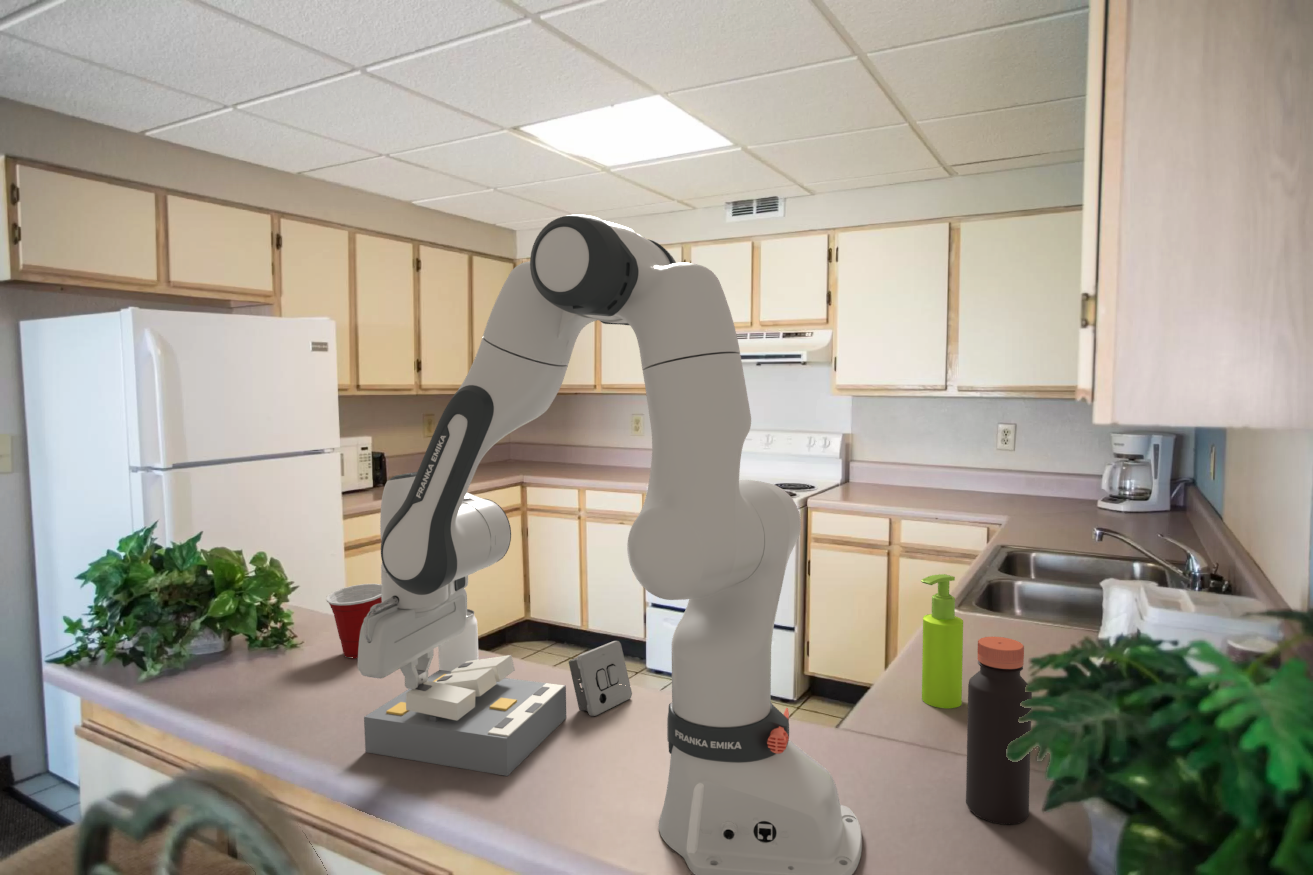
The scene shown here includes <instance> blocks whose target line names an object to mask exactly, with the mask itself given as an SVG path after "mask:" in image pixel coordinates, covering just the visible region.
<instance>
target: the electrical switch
mask: <svg viewBox="0 0 1313 875" xmlns="http://www.w3.org/2000/svg"><path fill="white" fill-rule="evenodd" d="M568 666H569V670H570V674H571V680H572V683H573V689H574V693H575V697H576V698H575V699H576V702H577V706H578V710H579V711H586V712H588V714H589V716H590V717H594V716H595V717H596V716H598V715H600V714H602V713H604V712H605V711H608V710H609V709H611V708H614V707H615V706H618V705H619V704H622V703H624V702H626V701H628V700H630V699H631V698H632V695H633V691H632V688H631V687H630V686H631V683H630V678H629V677H630V676H629V674H628V670H627V669H628V668H627V665H626V660H625V656H624V652H623V647H622V643H621V642H620V641H619V640H613V641H611V642H608V643H605V644H603V645H601V646H598V647H595V648H593V649H590V650H588V651H586V652H583V653H581V654H579V655H577V656H576V657H575V658H572V659H570V660H568ZM619 684H622V685H619ZM625 685H626V686H625Z"/></svg>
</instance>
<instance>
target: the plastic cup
mask: <svg viewBox="0 0 1313 875" xmlns="http://www.w3.org/2000/svg"><path fill="white" fill-rule="evenodd" d="M325 601H326V603H328V604H329V606H330V609H331V611H332V614H333V617H334V621H335V626H336V628H337V633H338V637H339V640H340V643H341V648H342V653H343V655H345V656H346V657H345V656H344V657H345V658H347V657H353V658H352V659H358V648H359V638H360V631H361V627H362V624H363V622H364V618H365V617H366V616H367V614H368V613H369V611H370V608H371V607H372V606H374V605H375V604H378V603H382V591H381V584H379V583H362V584H356V585H350V586H347V587H342V588H340V589H336V590H334V591H331V593H328V595H326V598H325Z"/></svg>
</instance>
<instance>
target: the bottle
mask: <svg viewBox="0 0 1313 875" xmlns="http://www.w3.org/2000/svg"><path fill="white" fill-rule="evenodd" d="M1024 658H1025V645H1024V644H1023V643H1022V642H1019V641H1018V640H1016V639H1013V638H1008V637H1005V636H1004V637H1001V636H985V637H981V638H978V640H977V664H978V666H980V667H979V668H980V670H979V671H977V672H976V673H975V674H974V675H972V676H971V677H970V678H969V679H968V683H967V684H968V687H967V688H968V689H967V727H966V728H967V729H966V730H967V732H966V733H967V734H966V735H967V736H966V737H967V740H966V776H965V777H966V781H965V783H966V784H965V786H966V788H965V803H966V806H967V807H968V809H969V810H970V811H971V812H972V813H973V814H974V815H975V816H977V817H979V818H981V819H983V820H985V821H988V822H990V823H995V824H999V825H1017V824H1020V823H1022V822H1024V821H1026V819H1027V818H1028V817H1029V815H1030V814H1029V812H1030V811H1029V810H1030V809H1029V808H1030V777H1031V776H1030V775H1031V774H1030V773H1031V751H1030V752H1029V754H1027V755H1026V756H1025V757H1024V758H1023V759H1022V760H1020V761H1018V762H1012V761H1010V760H1008V758H1007V757H1006V749H1007V746H1008V744H1009V743H1010V742H1011V741H1013V740H1015V739H1016V738H1019V737H1020V736H1022V735H1023V734H1025V733H1026V732H1028V731H1030V730H1031V731H1032V720H1031V721H1028V722H1024V723H1019V722H1018V719H1019V717H1022V716H1024V715H1025V714H1027V713H1028V712H1029V711H1030V710H1031V711H1032V707H1031V708H1024V707H1022V706H1020V703H1021V702H1022V701H1025V700H1027V699H1032V700H1033V692H1025V687H1026V685H1029V684H1028V683H1027V681H1026V680H1025V679H1024V678H1023V677H1022V676H1021V672H1022V671H1023V670H1024V664H1025V663H1024Z"/></svg>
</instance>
